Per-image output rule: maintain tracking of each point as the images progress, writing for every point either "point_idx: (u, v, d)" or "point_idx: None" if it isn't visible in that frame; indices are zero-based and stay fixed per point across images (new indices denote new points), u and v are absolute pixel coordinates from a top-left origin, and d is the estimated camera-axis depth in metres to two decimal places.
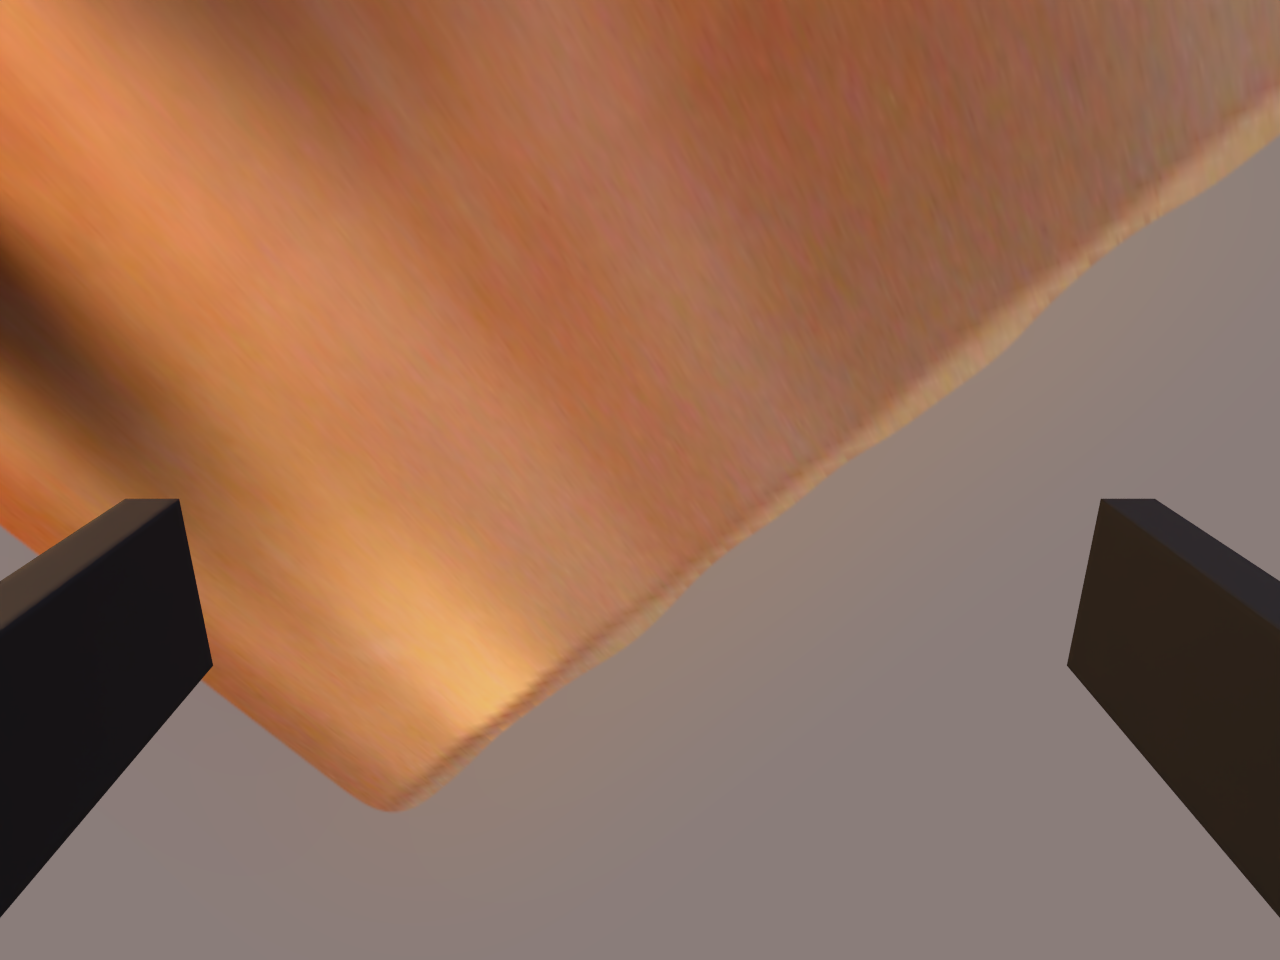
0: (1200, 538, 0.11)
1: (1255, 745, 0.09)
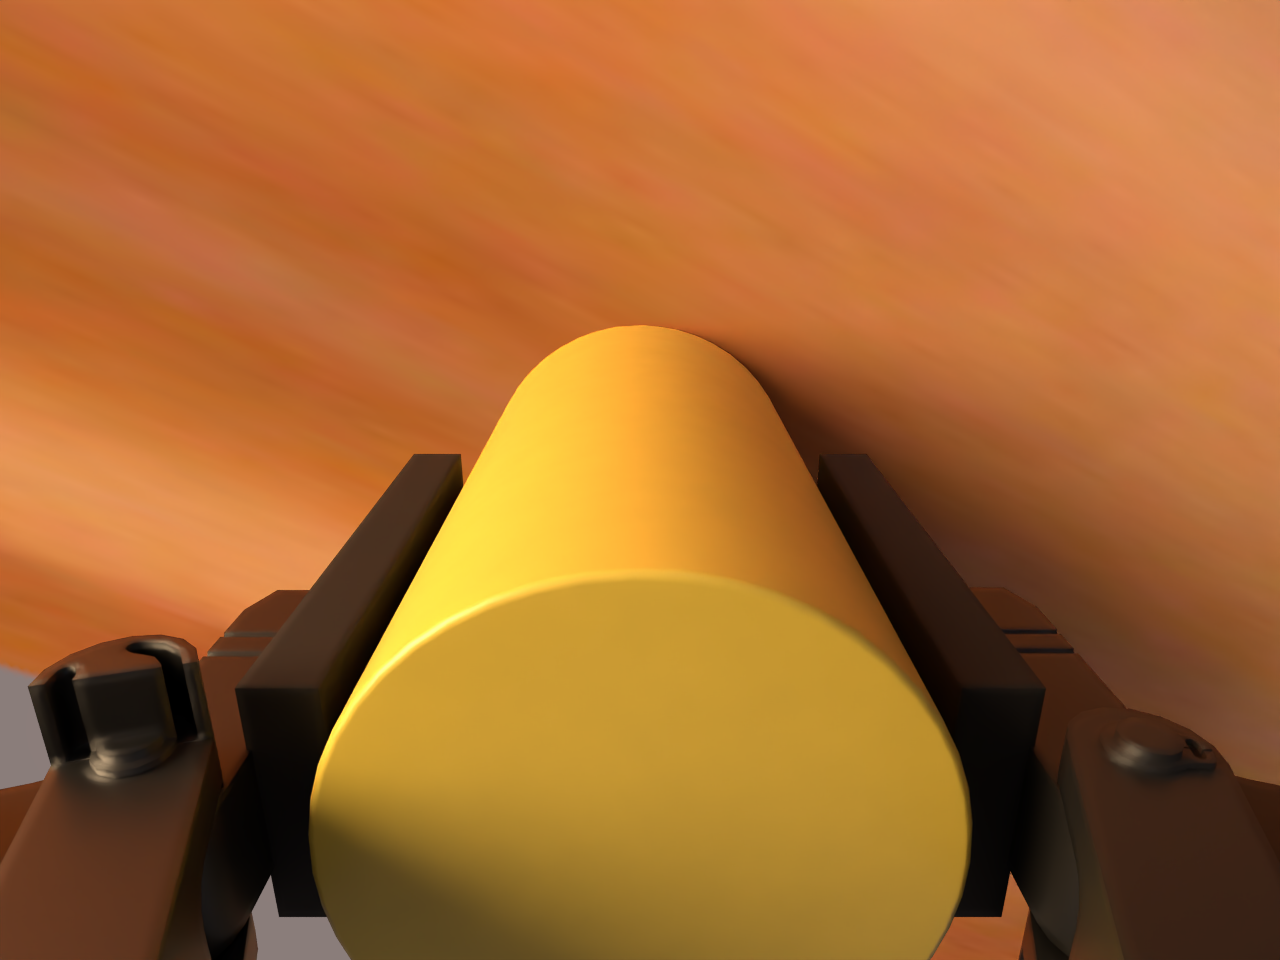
0: (877, 483, 0.13)
1: None
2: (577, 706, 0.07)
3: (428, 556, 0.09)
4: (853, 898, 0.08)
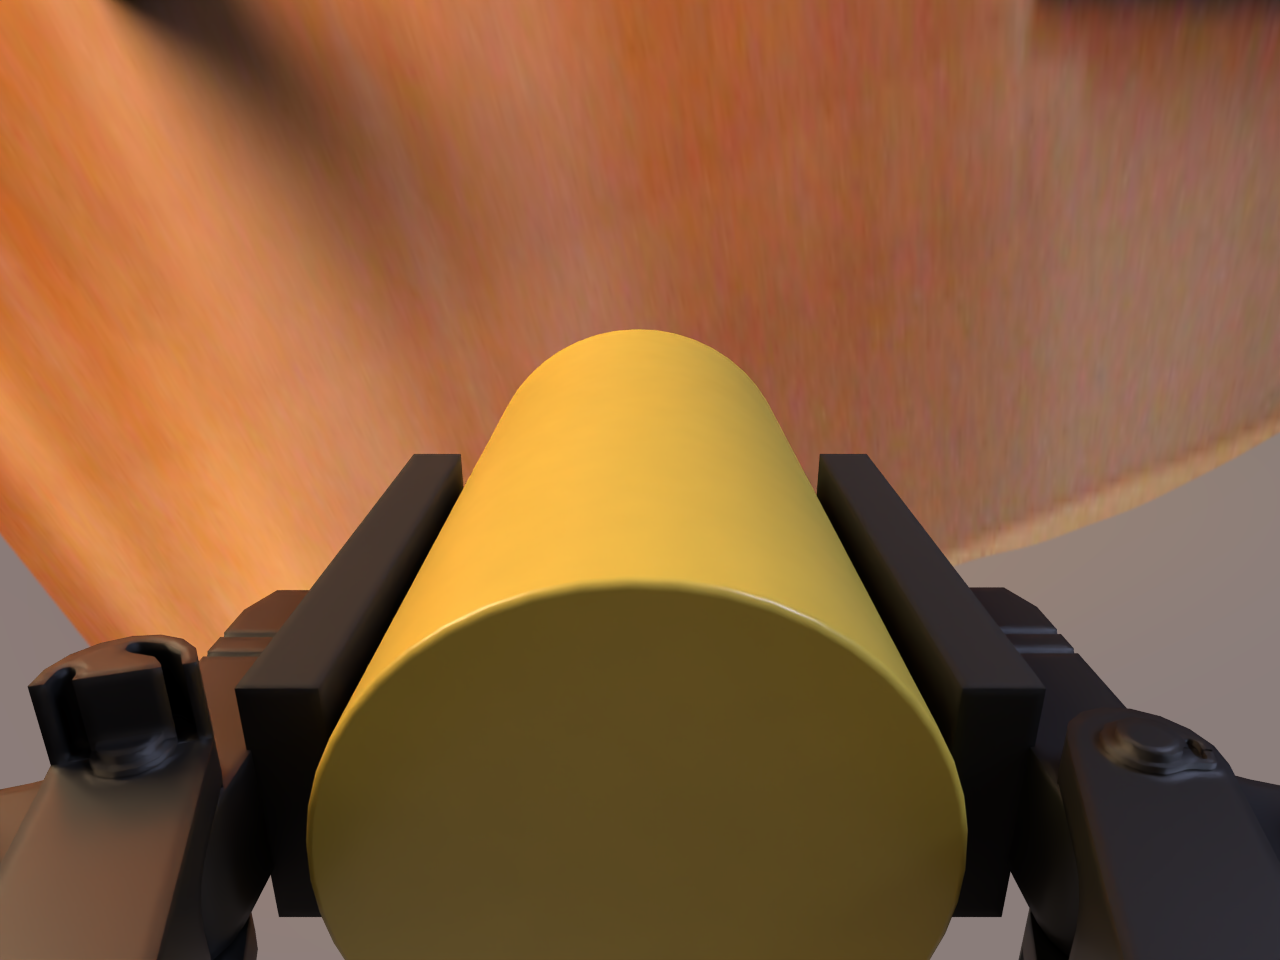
0: (877, 483, 0.13)
1: None
2: (575, 715, 0.07)
3: (426, 562, 0.09)
4: (847, 904, 0.08)
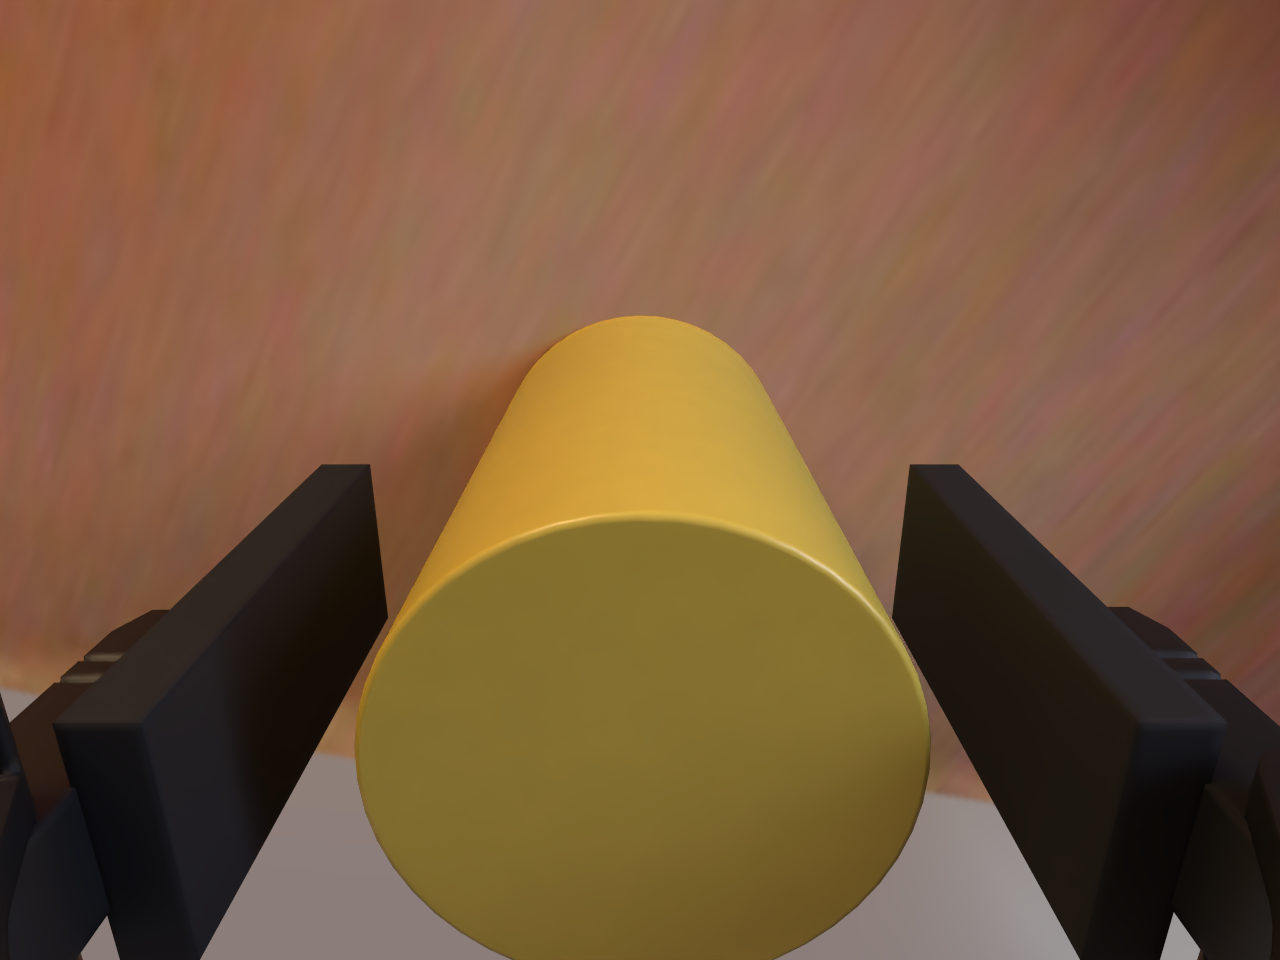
0: (979, 496, 0.12)
1: (988, 668, 0.10)
2: (589, 631, 0.08)
3: (453, 515, 0.10)
4: (827, 804, 0.09)
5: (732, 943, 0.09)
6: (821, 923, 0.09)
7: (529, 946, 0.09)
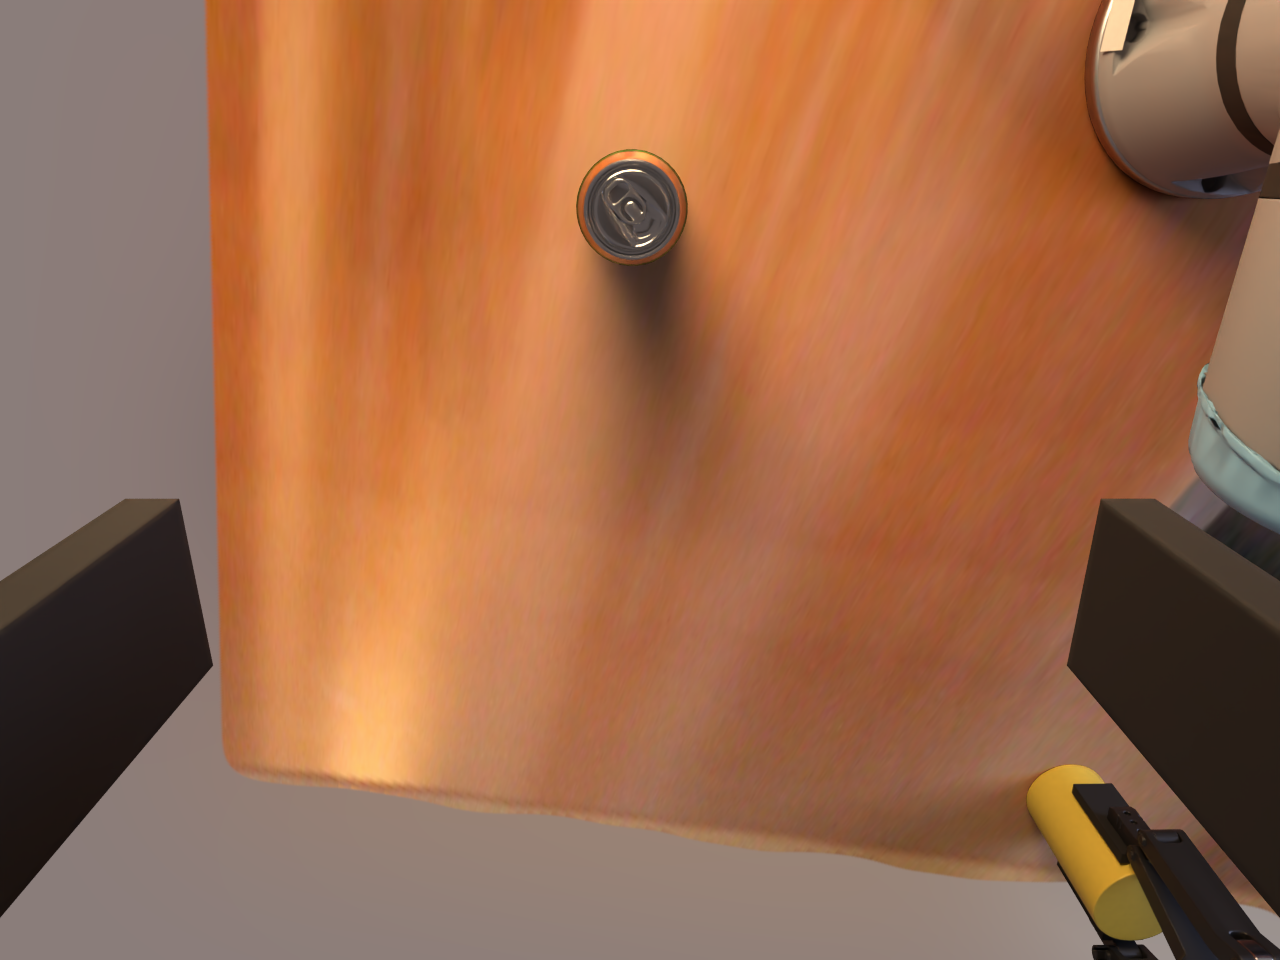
0: (1200, 538, 0.11)
1: (1255, 744, 0.09)
2: (1137, 887, 0.54)
3: (1088, 854, 0.56)
4: None
5: (1147, 933, 0.55)
6: None
7: (1113, 933, 0.55)
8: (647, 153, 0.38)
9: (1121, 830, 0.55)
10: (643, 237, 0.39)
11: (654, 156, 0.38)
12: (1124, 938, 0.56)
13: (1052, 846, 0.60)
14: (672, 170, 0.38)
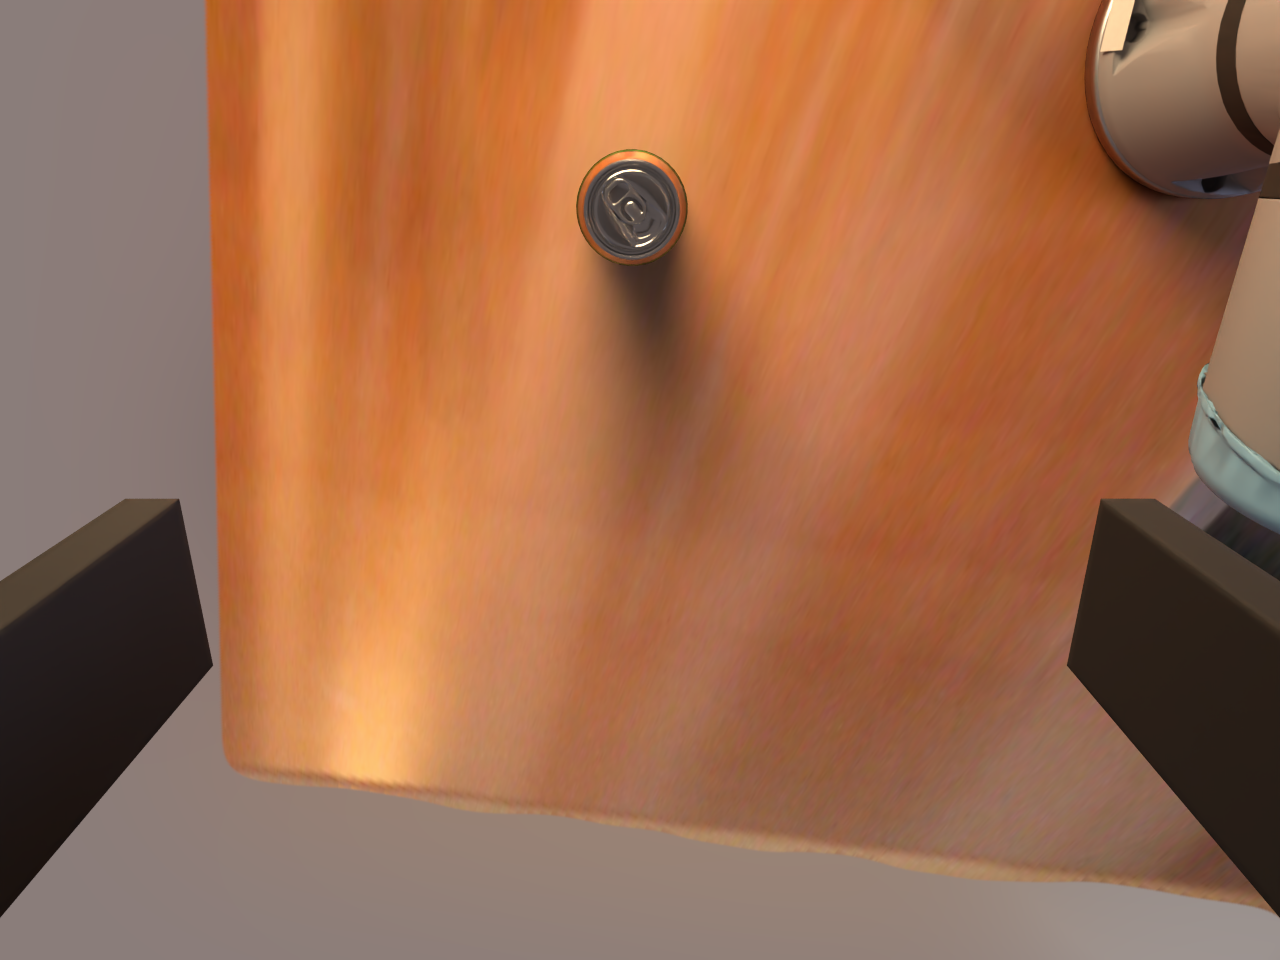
0: (1200, 538, 0.11)
1: (1255, 744, 0.09)
2: None
3: None
4: None
5: None
6: None
7: None
8: (647, 153, 0.38)
9: None
10: (643, 237, 0.39)
11: (654, 156, 0.38)
12: None
13: None
14: (672, 170, 0.38)
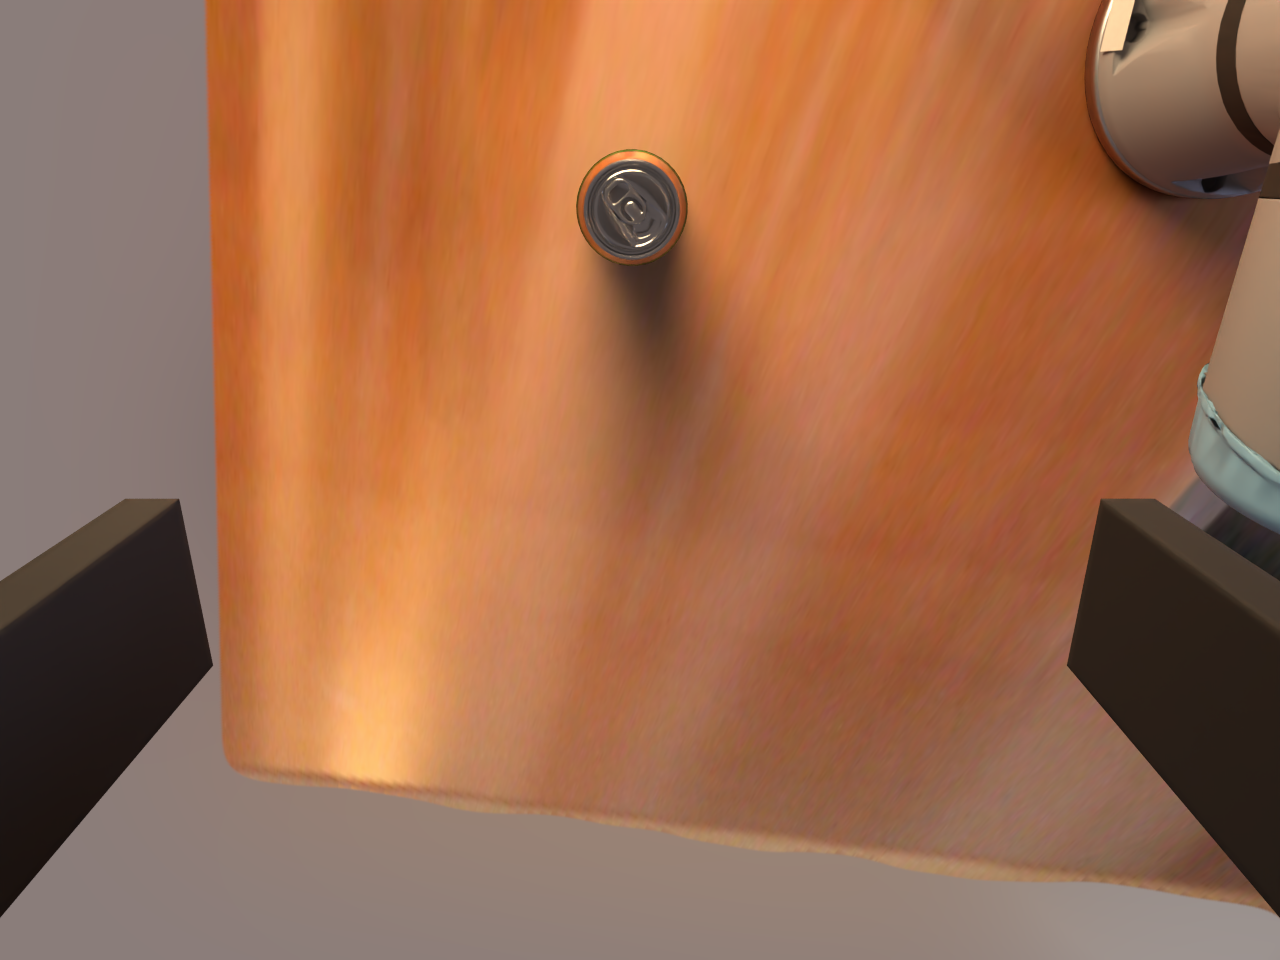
0: (1200, 538, 0.11)
1: (1255, 744, 0.09)
2: None
3: None
4: None
5: None
6: None
7: None
8: (647, 153, 0.38)
9: None
10: (643, 237, 0.39)
11: (654, 156, 0.38)
12: None
13: None
14: (672, 170, 0.38)
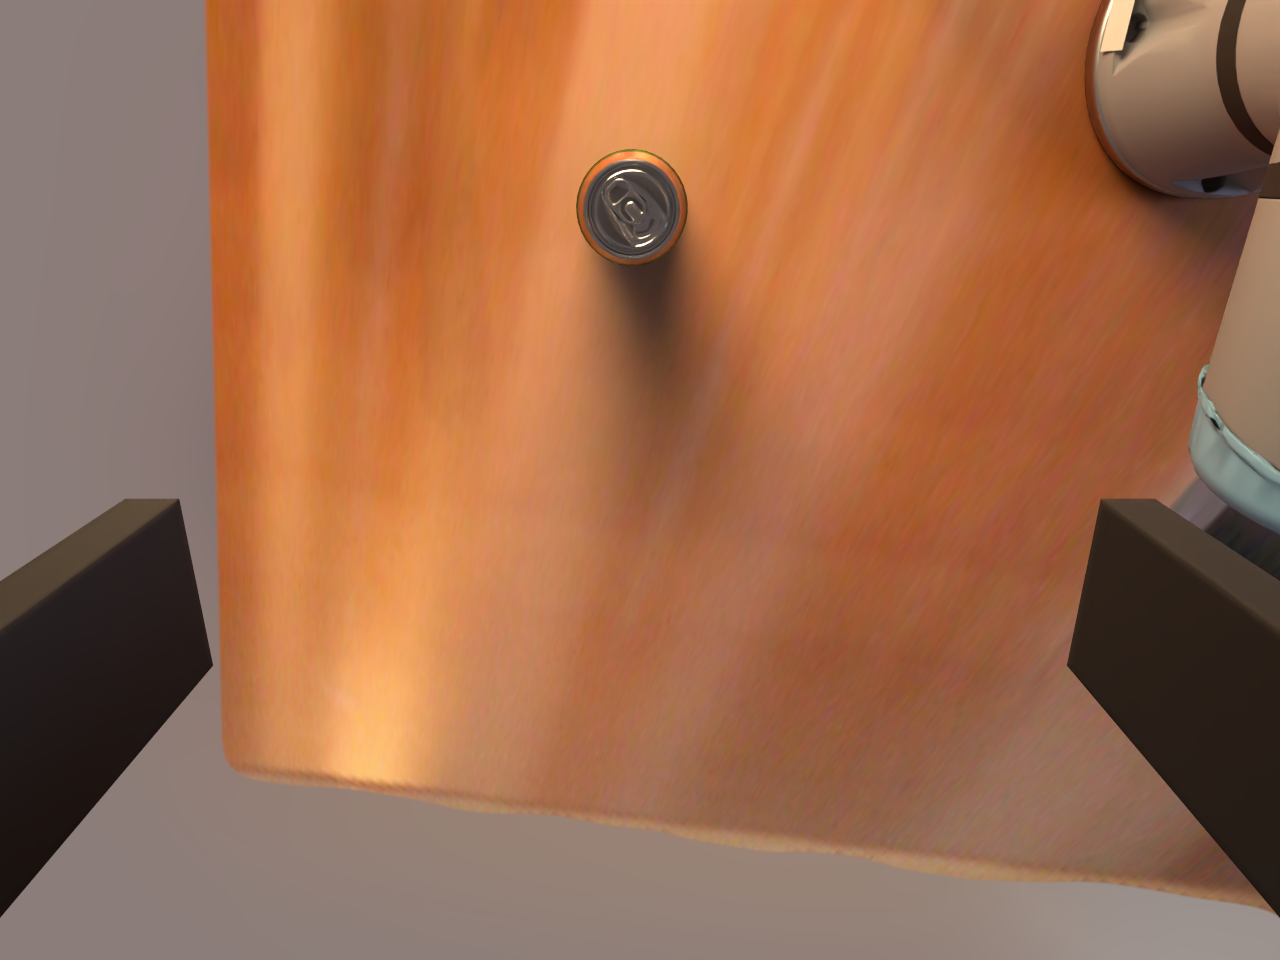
0: (1200, 538, 0.11)
1: (1255, 744, 0.09)
2: None
3: None
4: None
5: None
6: None
7: None
8: (647, 153, 0.38)
9: None
10: (643, 237, 0.39)
11: (654, 156, 0.38)
12: None
13: None
14: (672, 170, 0.38)
